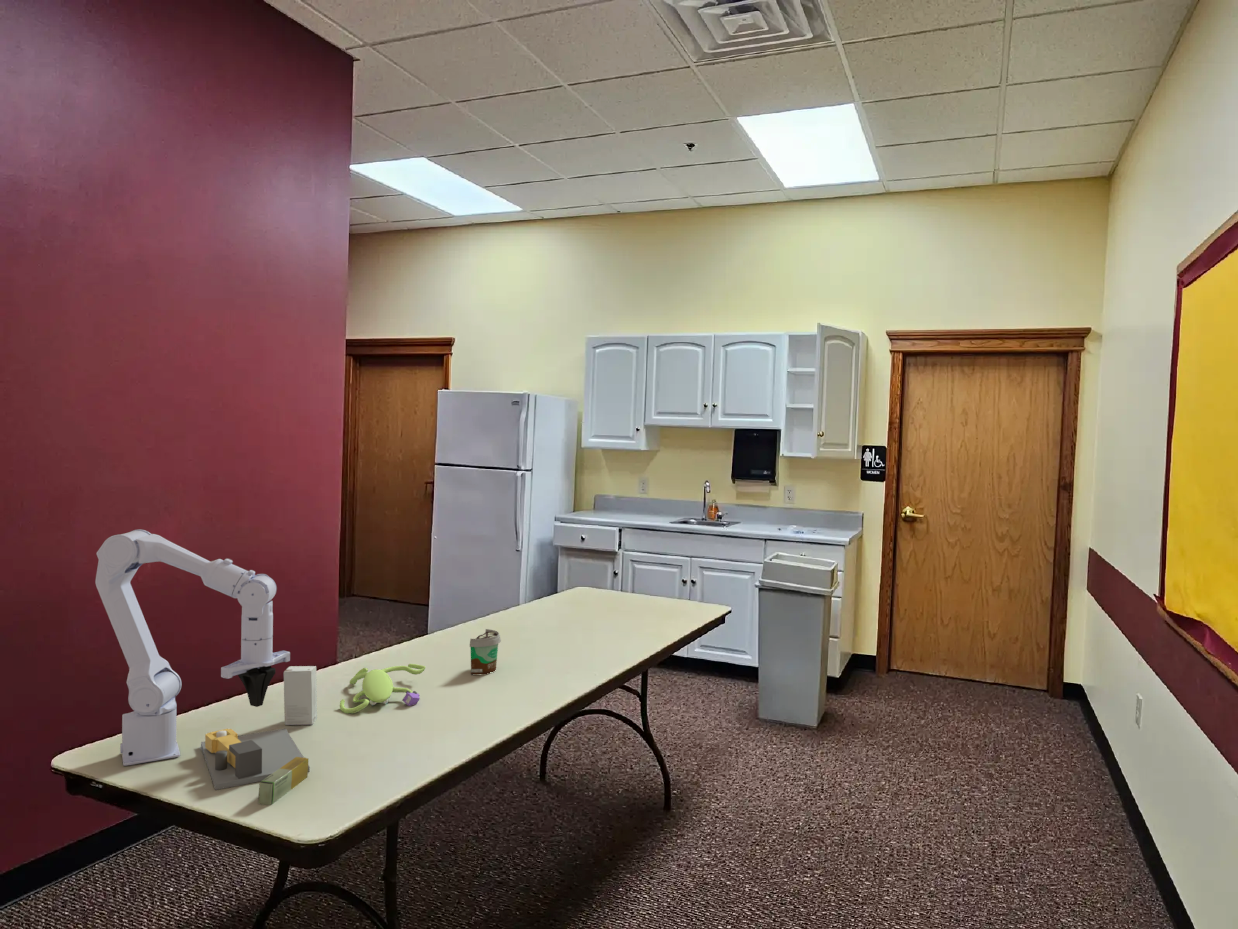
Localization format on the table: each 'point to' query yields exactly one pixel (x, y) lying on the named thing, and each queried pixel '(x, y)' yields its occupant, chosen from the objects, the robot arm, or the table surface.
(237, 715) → the table surface
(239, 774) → the base
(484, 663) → the food container
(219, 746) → the link
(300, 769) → the medication box
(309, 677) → the skincare box
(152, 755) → the robot arm
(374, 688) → the figurine
